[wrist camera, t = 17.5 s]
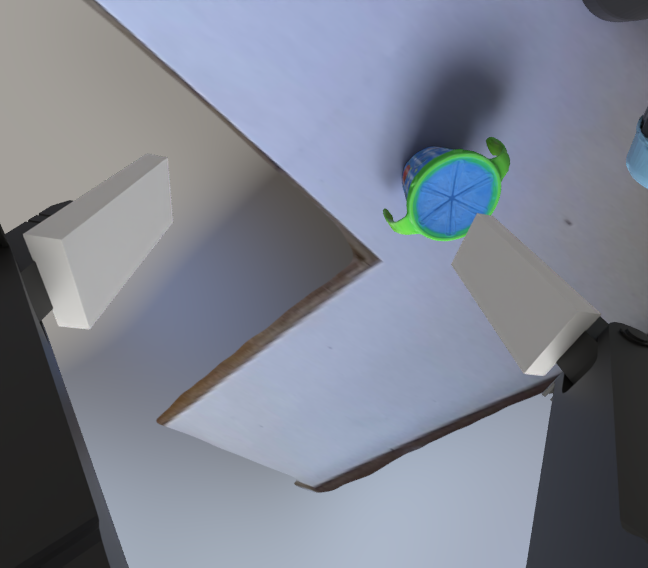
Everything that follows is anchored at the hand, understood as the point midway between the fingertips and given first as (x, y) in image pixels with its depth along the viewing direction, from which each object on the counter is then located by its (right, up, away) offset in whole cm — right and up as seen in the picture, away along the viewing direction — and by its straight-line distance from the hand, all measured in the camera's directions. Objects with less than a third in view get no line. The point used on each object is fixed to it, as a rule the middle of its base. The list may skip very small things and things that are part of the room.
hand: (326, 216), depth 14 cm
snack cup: (+14, +13, +31) cm, 36 cm away
